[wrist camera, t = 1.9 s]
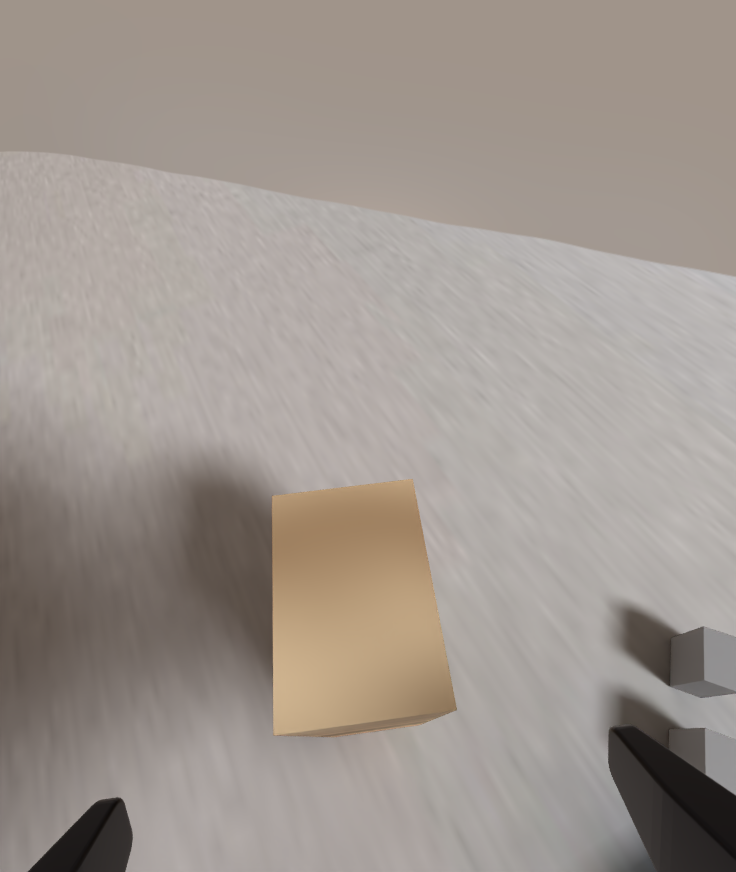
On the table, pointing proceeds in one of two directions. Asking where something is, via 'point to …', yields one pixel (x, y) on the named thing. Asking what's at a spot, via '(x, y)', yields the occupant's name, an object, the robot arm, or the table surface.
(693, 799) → the robot arm
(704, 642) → the cream board with pegs
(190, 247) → the table surface
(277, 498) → the wooden building block
